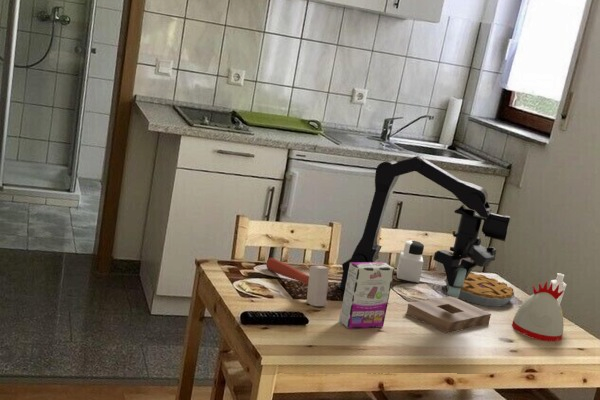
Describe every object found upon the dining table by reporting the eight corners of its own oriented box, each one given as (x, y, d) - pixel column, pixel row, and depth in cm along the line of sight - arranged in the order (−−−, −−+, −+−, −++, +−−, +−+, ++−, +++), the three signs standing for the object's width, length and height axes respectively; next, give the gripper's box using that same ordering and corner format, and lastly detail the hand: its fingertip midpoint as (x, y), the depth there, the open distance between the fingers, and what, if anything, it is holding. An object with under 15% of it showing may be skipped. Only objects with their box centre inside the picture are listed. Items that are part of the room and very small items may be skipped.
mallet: (266, 248, 228) (319, 268, 202) (276, 248, 230) (330, 268, 204) (263, 283, 229) (315, 307, 203) (273, 283, 230) (326, 307, 205)
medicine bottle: (417, 276, 249) (425, 241, 246) (419, 283, 242) (427, 247, 239) (396, 272, 249) (403, 237, 247) (396, 278, 242) (404, 242, 240)
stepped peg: (454, 299, 210) (461, 271, 208) (442, 293, 212) (449, 266, 211) (463, 297, 212) (469, 270, 211) (451, 292, 215) (457, 265, 214)
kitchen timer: (560, 346, 209) (574, 294, 205) (510, 331, 213) (522, 281, 210) (562, 330, 221) (575, 282, 218) (514, 317, 226) (526, 269, 222)
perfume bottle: (556, 321, 229) (569, 274, 226) (556, 325, 225) (569, 278, 221) (540, 317, 230) (553, 270, 227) (540, 321, 226) (552, 273, 223)
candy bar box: (373, 320, 202) (385, 261, 199) (383, 327, 198) (396, 268, 195) (337, 321, 197) (349, 261, 193) (347, 329, 193) (359, 267, 189)
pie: (429, 287, 240) (432, 272, 239) (467, 280, 256) (471, 266, 255) (487, 313, 226) (491, 297, 225) (525, 304, 241) (528, 289, 240)
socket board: (446, 333, 202) (448, 323, 201) (406, 313, 212) (408, 303, 211) (488, 323, 216) (491, 313, 215) (449, 305, 226) (451, 295, 225)
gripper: (472, 243, 196) (459, 299, 200) (511, 239, 209) (498, 292, 213) (438, 230, 204) (426, 284, 208) (478, 227, 217) (465, 278, 220)
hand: (455, 285), depth 212 cm, fingers closed on stepped peg, 4 cm apart
